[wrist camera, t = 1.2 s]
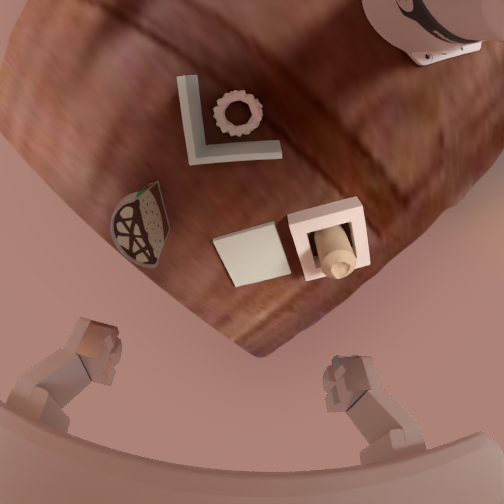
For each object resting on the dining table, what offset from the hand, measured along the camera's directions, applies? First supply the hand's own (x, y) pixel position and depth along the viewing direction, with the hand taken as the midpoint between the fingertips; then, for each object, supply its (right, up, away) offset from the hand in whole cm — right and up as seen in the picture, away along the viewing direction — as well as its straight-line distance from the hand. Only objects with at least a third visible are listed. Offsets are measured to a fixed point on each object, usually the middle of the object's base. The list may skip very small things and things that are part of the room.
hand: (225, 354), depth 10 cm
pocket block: (+14, +7, +39) cm, 42 cm away
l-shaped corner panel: (-1, +25, +28) cm, 38 cm away
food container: (-17, +12, +38) cm, 43 cm away
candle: (+14, +7, +39) cm, 43 cm away
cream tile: (+1, +3, +42) cm, 43 cm away
